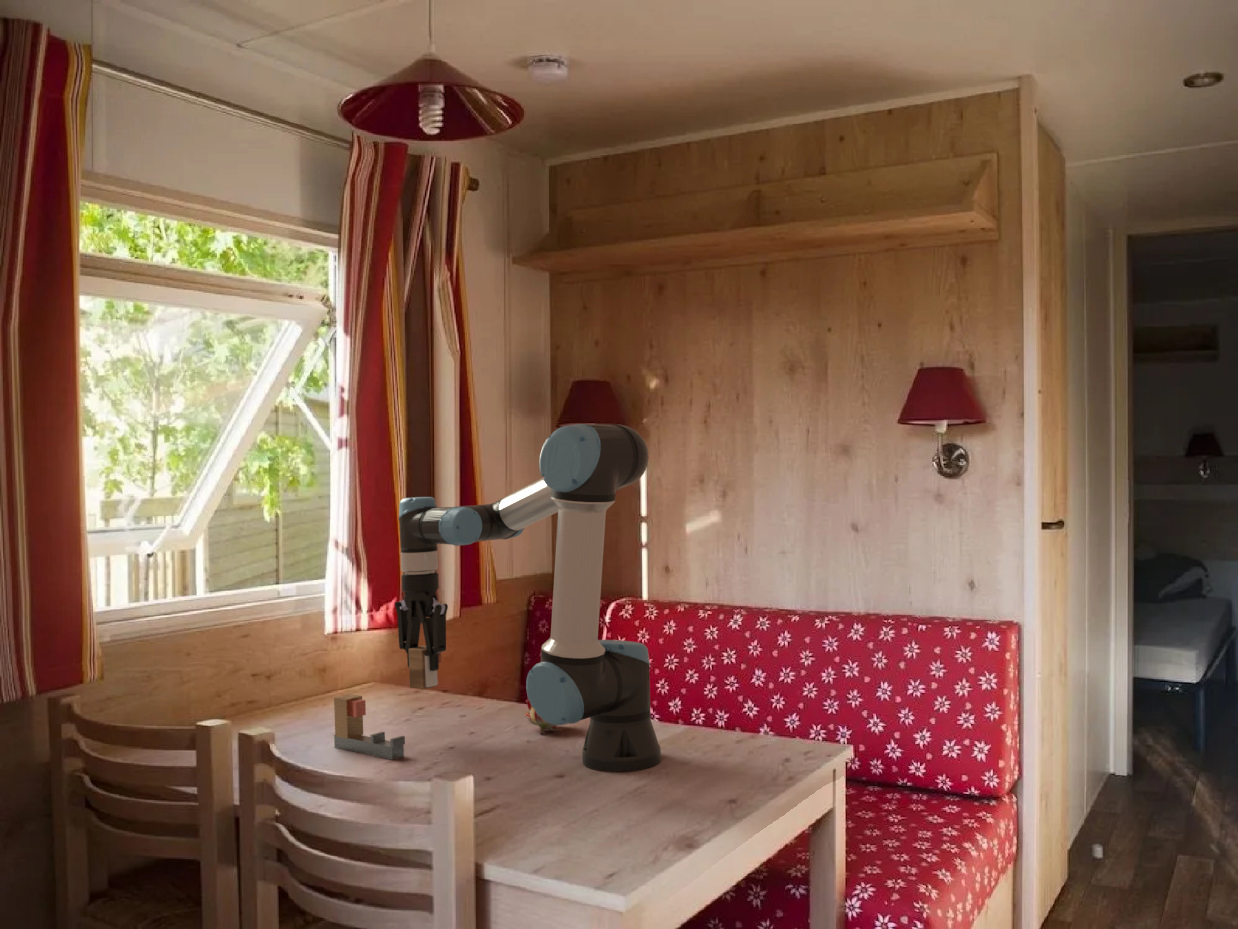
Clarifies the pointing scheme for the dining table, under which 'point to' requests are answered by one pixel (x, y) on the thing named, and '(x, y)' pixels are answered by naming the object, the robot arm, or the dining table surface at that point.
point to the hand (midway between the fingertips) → (423, 684)
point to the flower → (538, 719)
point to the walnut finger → (418, 667)
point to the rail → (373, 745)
